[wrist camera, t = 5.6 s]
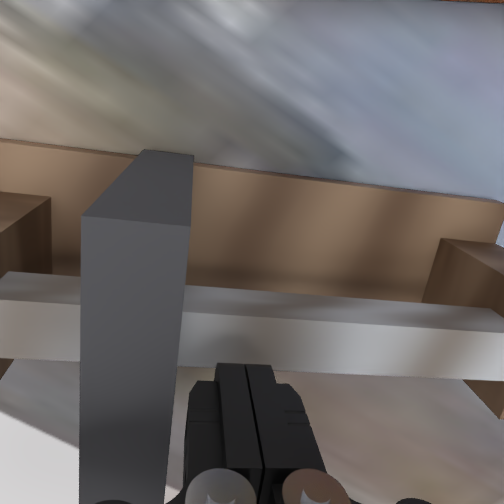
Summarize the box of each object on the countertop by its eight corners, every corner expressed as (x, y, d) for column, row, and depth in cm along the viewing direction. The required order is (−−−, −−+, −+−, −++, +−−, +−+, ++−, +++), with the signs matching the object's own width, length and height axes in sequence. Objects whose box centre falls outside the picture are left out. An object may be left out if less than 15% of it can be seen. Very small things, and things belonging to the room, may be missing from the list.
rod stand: (495, 200, 21) (648, 254, 14) (443, 351, 24) (548, 460, 17) (-19, 135, 17) (-172, 165, 10) (-6, 325, 20) (-116, 453, 13)
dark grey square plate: (193, 155, 17) (190, 226, 8) (174, 361, 21) (156, 580, 11) (144, 149, 17) (80, 216, 8) (132, 359, 20) (78, 583, 11)
